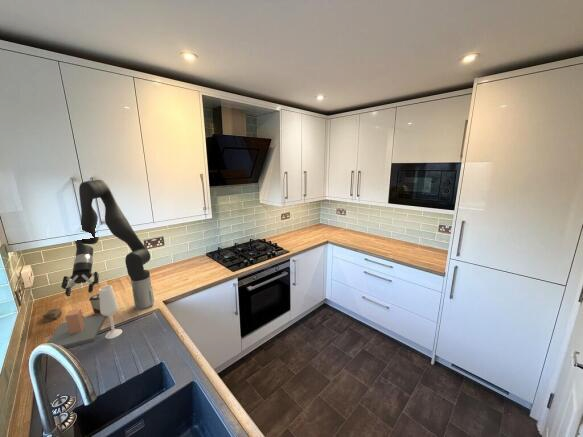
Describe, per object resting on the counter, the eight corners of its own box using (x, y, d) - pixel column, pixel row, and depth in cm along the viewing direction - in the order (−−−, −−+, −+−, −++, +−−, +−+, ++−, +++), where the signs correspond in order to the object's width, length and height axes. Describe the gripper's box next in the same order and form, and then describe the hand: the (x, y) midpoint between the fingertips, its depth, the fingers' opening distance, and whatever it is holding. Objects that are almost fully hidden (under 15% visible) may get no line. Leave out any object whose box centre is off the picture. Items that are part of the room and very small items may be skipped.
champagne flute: (117, 327, 118) (110, 283, 112) (125, 331, 114) (117, 286, 109) (102, 335, 112) (93, 289, 107) (109, 340, 109) (100, 293, 104)
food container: (122, 307, 134) (119, 291, 132) (114, 313, 128) (112, 297, 126) (100, 307, 134) (97, 291, 132) (91, 314, 128) (88, 297, 126)
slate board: (106, 316, 126) (106, 313, 126) (94, 340, 108) (93, 337, 108) (62, 325, 119) (62, 322, 119) (41, 353, 101) (41, 350, 101)
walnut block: (61, 314, 128) (60, 308, 127) (56, 320, 123) (54, 313, 122) (50, 316, 126) (48, 309, 125) (44, 322, 122) (42, 315, 121)
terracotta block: (84, 326, 116) (81, 308, 114) (81, 331, 112) (77, 313, 110) (73, 328, 114) (69, 311, 112) (69, 334, 111) (65, 316, 109)
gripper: (62, 263, 121) (57, 295, 113) (97, 259, 126) (94, 288, 119) (69, 269, 126) (64, 299, 119) (101, 265, 132) (99, 293, 124)
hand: (79, 294), depth 119 cm, fingers open, 8 cm apart
